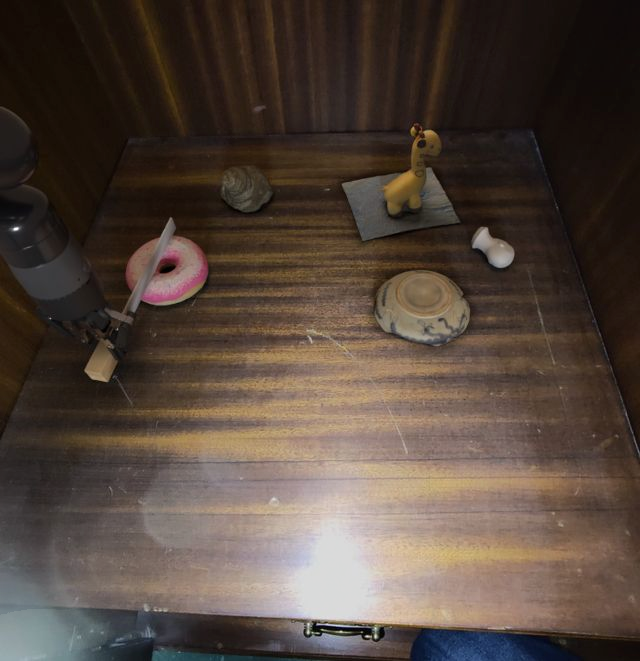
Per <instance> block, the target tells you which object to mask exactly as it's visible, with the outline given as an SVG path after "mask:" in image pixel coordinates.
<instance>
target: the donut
mask: <svg viewBox="0 0 640 661" xmlns="http://www.w3.org/2000/svg"><path fill="white" fill-rule="evenodd" d="M159 239H160V237H157V238H154V239H152V240H149V241H147V242H146V243H144V244H143V245H141V246H140V247H139V248H138V249H136V250H135V251H134V253H133V254H132V255H131V256H130V258H129V260H128V262H127V265H126V270H125V282H126V285H127V287H128V288H129V290H130V292H131V293H132V292H133V290H134V288H135V286H136V284H137V282H138V280H139V278H140V276H141V274H142V272H143V270H144V268H145V266H146V264H147V263H148V261H149V259H150V257H151V255H152V253H153V251H154V249H155V247H156V245H157V243H158V241H159ZM171 267H174V269H173V270H171V271H169V272H165V273H161V272H162V271H163V270H165V269H166V268H171ZM208 275H209V263H208V260H207V257H206V254H205V253H204V251H203V249H202V248H201V247H200V246H199V245H198V244H197V243H195V242H194V241H192V240H191V239H188V238H187V237H184V236H179V235H172V237H171V239H170V241H169V243H168V245H167V248H166V250H165V252H164V254H163V256H162V258H161V260H160V262H159V264H158V266H157V268H156V270H155V272H154V274H153V276H152V278H151V280H150V282H149V284H148V286H147V288H146V290H145V292H144V294H143V296H142V298H141V300H140V301H142V302H144V303H147V304H150V305H154V306H169V305H170V306H171V305H174V304H178V303H181V302H184V301H185V300H187V299H190V298H191V297H193V296H195V294H197V293H198V292H199V291H200V290H201V289H202V288H203V287H204V285H205V283H206V282H207V278H208Z"/></svg>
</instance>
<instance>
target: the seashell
mask: <svg viewBox="0 0 640 661" xmlns="http://www.w3.org/2000/svg"><path fill="white" fill-rule="evenodd" d="M220 179H221V181H220V182H221V185H220V189H219V191H220V197H221V199H222V200H224V201H225V202H226V204H227V205H229V206H230V207H232V208H233V209H235V210H239V211H240V212H241V213H249V212H250V213H252V212H256V211H258V210H260V208H261V206H262V205H263V204H267V203H268V202H269V201H270V199H271V197H272V196H273V195H274V189H273V186H272V185H271V182H270V179H269V178H268V176H267V174H266V172H265V171H263V170H262V169H260V168H259V167H257V166H256V165H254V164H251V165H250V164H244V165H239V166H231V167H229V168H227V169H226V170H224V171H223V172H222V173H221V177H220Z"/></svg>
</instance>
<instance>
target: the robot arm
mask: <svg viewBox="0 0 640 661" xmlns="http://www.w3.org/2000/svg"><path fill="white" fill-rule="evenodd" d="M36 138H37V137H36V136H35V134H34V133H33V130H32V129H31V128H30V126H29V125H28V124H27V123H26V121H25V120H24V119H22V118H21V117H20V116H19V115H17V114H16V113H15V112H13V111H12V110H10V109H8V108H6V107H3V106H0V256H1V257H2V259H3V260H4V261H5V263H6V264H7V265H8V267H9V269H10V272H11V273H12V274H13V277H14V278H15V279H16V280H17V282H18V283H19V284H20V286H21V287H22V289H24V291H25V292H26V293H27V294H28V296H29V297H30V299H31V300H32V301H33V302H34V304H36V306H37V308H36V309H35V311H34V312H33V313H34V315H35V316H36V317H38V318H39V319H40V320H42V321H43V322H44V323H46V324H47V325H48V326H50V327H51V328H53V329H54V330H56V331H57V332H58V333H60V334H61V335H63V336H64V337H66V339H69V340H74V339H75V338H77V340H78V341H79V343H81V344H84V345H85V346H86V347H87V348H88V350H89V351H90V352H91V353H92V354H93V353H94V351H95V349H96V347H97V345H98V343H99V341H100V340H102V342H103V343H104V344H105V345H106V346H107V349H108V350H109V352H110V353H111V354H112V356H113V357H114V359H115V360H116V361H118V362H122V361H123V359H125V357H126V355H127V354H128V352H129V348H128V346H127V344H126V343H128V341H129V340H130V338H131V336H132V335H133V333H134V329H135V324H136V319H137V313H134V312H132V311H128V312H127V314H122V312H119V311H117V310H115V307H114V305H113V304H112V303H111V302H110V301H108V299H107V298H106V296H105V286H104V284H103V281H102V279H101V278H100V276H99V274H98V272H97V271H96V268H94V266H93V264H92V262H91V260H90V259H89V257H88V255H87V254H86V252H85V250H84V249H83V247H82V245H81V244H80V242H79V241H78V240H77V238H76V237H75V236H74V235H73V234H72V233H71V231H70V230H69V228H68V227H67V225H66V223H65V222H64V220H63V218H62V216H61V215H60V213H59V212H58V210H57V208H56V207H55V205H54V203H53V202H52V201H51V199H50V197H48V195H46V193H44V192H43V191H42V190H40V189H38V188H36V187H34V186H31V185H29V184H26V183H27V182H28V181H29V180H31V178H32V177H33V176H34V174H35V173H36V170H37V169H38V166H39V162H40V149H39V148H40V147H39V143H38V141H37V139H36ZM64 325H65V326H64ZM133 328H134V329H133ZM110 332H111V334H110ZM109 334H110V336H109Z"/></svg>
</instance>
